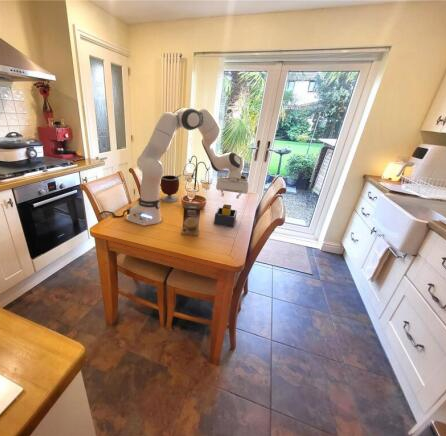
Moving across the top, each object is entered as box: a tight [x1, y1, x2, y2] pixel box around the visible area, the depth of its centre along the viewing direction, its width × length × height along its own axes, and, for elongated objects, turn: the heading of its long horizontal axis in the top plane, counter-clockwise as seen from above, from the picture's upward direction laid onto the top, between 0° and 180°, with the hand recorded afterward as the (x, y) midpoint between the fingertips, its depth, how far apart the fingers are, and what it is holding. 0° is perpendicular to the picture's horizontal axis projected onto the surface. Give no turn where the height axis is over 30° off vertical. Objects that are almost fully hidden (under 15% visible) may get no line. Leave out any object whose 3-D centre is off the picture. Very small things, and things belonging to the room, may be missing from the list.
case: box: [213, 207, 238, 228], centre depth 145 cm, size 12×12×7 cm
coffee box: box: [181, 203, 201, 236], centre depth 129 cm, size 9×6×16 cm
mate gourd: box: [160, 174, 182, 203], centre depth 176 cm, size 16×14×20 cm
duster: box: [222, 203, 232, 216], centre depth 144 cm, size 5×5×10 cm
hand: (229, 197), depth 148 cm, fingers open, 8 cm apart
